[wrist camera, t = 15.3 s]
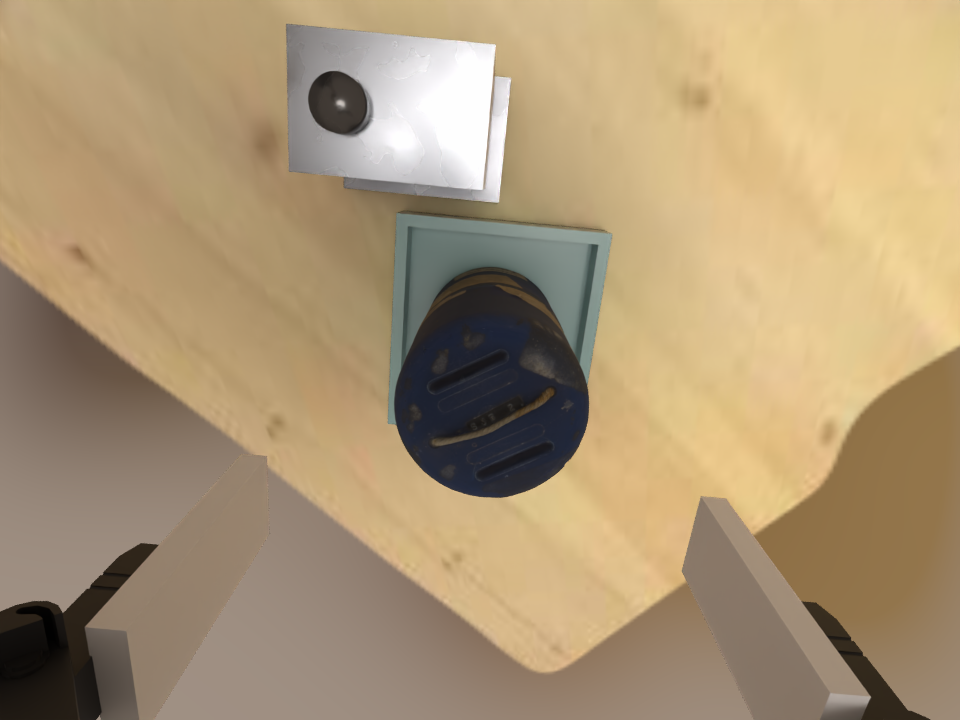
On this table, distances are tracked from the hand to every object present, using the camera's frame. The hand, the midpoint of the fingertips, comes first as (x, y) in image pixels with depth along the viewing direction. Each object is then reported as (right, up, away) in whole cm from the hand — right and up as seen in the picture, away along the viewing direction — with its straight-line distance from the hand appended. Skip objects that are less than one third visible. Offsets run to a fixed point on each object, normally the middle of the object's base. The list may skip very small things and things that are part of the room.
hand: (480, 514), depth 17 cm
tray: (+1, +7, +25) cm, 27 cm away
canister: (+1, +7, +25) cm, 26 cm away
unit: (-4, +20, +21) cm, 30 cm away
